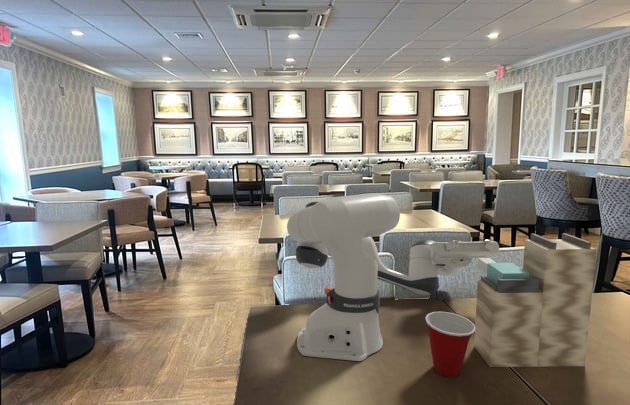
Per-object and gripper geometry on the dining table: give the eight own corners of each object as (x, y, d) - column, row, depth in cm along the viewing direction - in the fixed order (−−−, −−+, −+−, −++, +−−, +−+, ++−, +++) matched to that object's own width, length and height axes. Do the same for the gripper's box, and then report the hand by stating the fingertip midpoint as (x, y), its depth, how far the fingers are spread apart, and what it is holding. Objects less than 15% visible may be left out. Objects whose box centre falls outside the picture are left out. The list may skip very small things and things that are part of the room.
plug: (501, 290, 89) (502, 273, 88) (472, 266, 106) (473, 252, 105) (527, 289, 89) (529, 273, 88) (494, 266, 106) (495, 252, 105)
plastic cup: (474, 388, 82) (477, 335, 81) (422, 378, 86) (423, 327, 84) (472, 361, 92) (474, 313, 91) (425, 353, 96) (426, 308, 94)
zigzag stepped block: (489, 366, 90) (497, 243, 86) (474, 346, 99) (480, 234, 95) (584, 366, 90) (597, 242, 86) (560, 346, 99) (570, 233, 94)
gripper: (491, 264, 125) (510, 252, 112) (427, 265, 125) (439, 253, 113) (487, 245, 127) (505, 231, 115) (425, 246, 128) (436, 232, 115)
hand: (472, 242), depth 114 cm, fingers open, 8 cm apart
